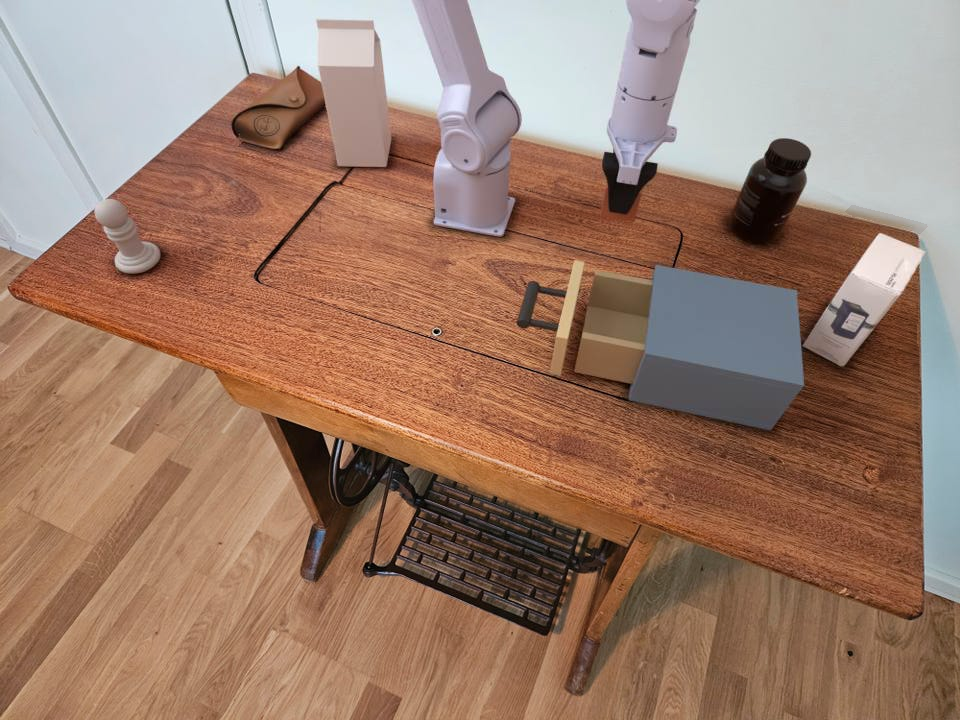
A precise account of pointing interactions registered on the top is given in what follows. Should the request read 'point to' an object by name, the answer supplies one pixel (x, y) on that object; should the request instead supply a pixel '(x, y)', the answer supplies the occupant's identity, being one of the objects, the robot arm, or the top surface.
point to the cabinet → (720, 348)
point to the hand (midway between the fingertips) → (620, 199)
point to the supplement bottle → (770, 191)
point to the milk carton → (354, 91)
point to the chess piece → (126, 238)
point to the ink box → (864, 298)
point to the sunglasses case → (280, 111)
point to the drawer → (598, 323)
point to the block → (628, 217)
